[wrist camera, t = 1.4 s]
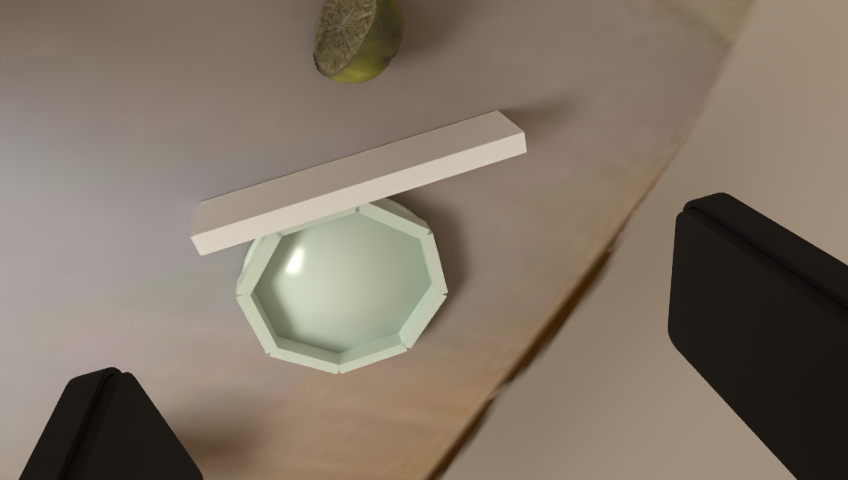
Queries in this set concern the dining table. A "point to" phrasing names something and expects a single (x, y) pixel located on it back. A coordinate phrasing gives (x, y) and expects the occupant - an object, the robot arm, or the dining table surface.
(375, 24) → the lime
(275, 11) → the dining table surface
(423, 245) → the dish
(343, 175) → the fence
